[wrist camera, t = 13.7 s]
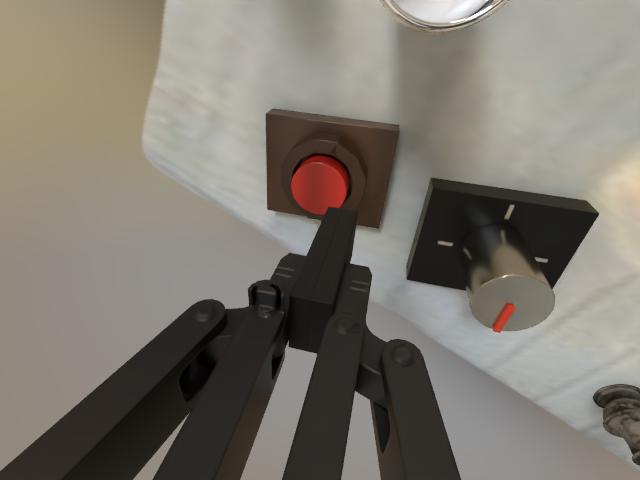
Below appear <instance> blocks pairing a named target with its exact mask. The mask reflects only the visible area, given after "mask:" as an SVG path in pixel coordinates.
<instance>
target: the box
mask: <svg viewBox="0 0 640 480" xmlns="http://www.w3.org/2000/svg"><path fill="white" fill-rule="evenodd" d="M398 133H399V125H394V124H386V123H379V122H371V121H363V120H356V119H348V118H340V117H332V116H325V115H317V114H309V113H302V112H294V111H286V110H279V109H272V110H270V111H269V112H268V113H266V153H267V209H268V210H273V211H278V212H284V213H290V214H296V215H302V216H306V217H308V218H311V219H317V220H323V217H324V215H325V214H315V213H312V212H309V211H307V210H305V209H304V208H302V207H301V206H300V205H299V204H298V203H297V201H296V200H295V198H294V196H293V193H292V187H291V184H292V179H293V176H294V174H295V173H296V171H297V170H298V168H299V167H300V165H301V164H302V163H303V162H304V161H305V160H307V159H308V158H311V157H313V156H328V157H331V158H333V159H335V160H337V161H338V162H339V163H340V164H341V165H342V166H343V167H344V168H345V170H346V172H347V174H348V177H349V189H348V192H347V195H346V198H345V201H344V202H343V204H342V205H341V206H340V207H339V208H342V209H348V210H354V211H358V216H357V223H356V225H360V226H366V227H372V228H378V229H379V226H380V221H381V216H382V211H383V206H384V201H385V197H386V192H387V187H388V182H389V177H390V172H391V167H392V162H393V157H394V153H395V148H396V143H397V138H398Z"/></svg>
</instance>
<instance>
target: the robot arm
mask: <svg viewBox="0 0 640 480" xmlns="http://www.w3.org/2000/svg"><path fill="white" fill-rule="evenodd" d="M357 216H358V211H354V210H348V209H342V208H336V207H329V206H328V208H327V210H326V213H325V215H324V217H323V220H322V222H321V224H320V226H319V229H318V231H317V233H316V236H315V238H314V240H313V242H312V245H311V247H310V249H309V252H308V254H307V256H303V255H298V254H292V253H289V254H288V255H286V256H284V257H283V258H282V259H281V260H280V262H279V264H278V266H277V268H276V269H275V271H274V274H273V275H272V277H271V279H270V280H262V281H258V282H256V283H254V284H252V285H251V286H250V287H249V288H248V296H249V306H248V307H245V308H239V309H225V307H224V305H223V304H222V303H221V302H219V301H217V300H213V299H208V300H202V301H199V302H197V303H195V304H194V305H192V306H191V307H190V308H189V309H187V310H186V311H185V312H184V313H183V314H182V315H180V316H179V317H178V318H177V319H176V320H175V321H174V322H172V323H171V324H170V325H169V326H168V327H167V328H166V329H164V330H163V331H162V332H161V333H160V334H158V335H157V336H156V337H155V338H154V339H153V340H152V341H150V342H149V343H148V344H147V345H146V346H145V347H144V348H142V349H141V350H140V351H139V352H138V353H136V355H134V356H133V357H132V358H131V359H130V360H128V361H127V362H126V363H125V364H124V365H123V366H121V367H120V368H119V369H118V370H117V371H116V372H115V373H113V374H112V375H111V376H110V377H109V378H108V379H106V380H105V381H104V382H103V383H102V384H101V385H99V386H98V387H97V388H96V389H95V390H94V391H93V392H91V393H90V394H89V395H88V396H87V397H86V398H84V399H83V400H82V401H81V402H80V403H79V404H78V405H76V406H75V407H74V408H73V409H72V410H71V411H70V412H68V413H67V414H66V415H65V416H64V417H63V418H61V419H60V420H59V421H58V422H57V423H56V424H54V425H53V426H52V427H51V428H50V429H49V430H47V431H46V432H45V433H44V434H43V435H42V436H41V437H39V438H38V439H37V440H36V441H35V442H34V443H32V444H31V445H30V446H29V447H28V448H27V449H26V450H24V451H23V452H22V453H21V454H20V455H19V456H17V457H16V458H15V459H14V460H13V461H12V462H11V463H9V464H8V465H7V466H6V467H5V468H4V469H2V470H1V471H0V480H133V479H134V478H135V476H136V475H137V474H138V473H139V472H140V470H141V469H142V468H143V467H144V466H145V464H146V463H147V462H148V461H149V460H150V459H151V457H152V456H153V455H154V454H155V453H156V452H157V450H158V449H159V448H160V447H161V446H162V444H163V443H164V442H165V441H166V440H167V438H168V437H169V436H170V435H171V434H172V433H173V431H174V430H175V429H176V428H177V427H178V425H179V424H180V423H181V422H182V421H183V420H184V418H185V417H186V416H187V415H188V414H189V415H188V417H187V419H186V420H185V422H184V424H183V426H182V428H181V429H180V431H179V433H178V435H177V437H176V438H175V440H174V442H173V444H172V446H171V448H170V449H169V451H168V453H167V455H166V456H165V458H164V460H163V462H162V464H161V465H160V467H159V469H158V471H157V473H156V474H155V476H154V478H153V480H240V478H241V476H242V473H243V470H244V468H245V465H246V462H247V459H248V457H249V454H250V451H251V448H252V446H253V443H254V440H255V438H256V435H257V432H258V430H259V427H260V424H261V421H262V418H263V416H264V413H265V410H266V408H267V405H268V402H269V400H270V397H271V394H272V392H273V389H274V386H275V383H276V380H277V378H278V375H279V372H280V370H281V367H282V364H283V361H284V357H285V348H286V345H287V343H288V340H289V347H291V348H296V349H300V350H304V351H308V352H313V353H317V358H316V361H315V365H314V368H313V372H312V375H311V379H310V383H309V386H308V390H307V393H306V397H305V400H304V404H303V407H302V411H301V414H300V418H299V421H298V425H297V428H296V432H295V436H294V440H293V443H292V446H291V450H290V453H289V457H288V460H287V464H286V467H285V471H284V474H283V478H282V480H341V476H342V469H343V463H344V456H345V450H346V444H347V437H348V431H349V425H350V418H351V412H352V405H353V399H354V393H355V391H356V392H358V393H360V394H361V395H363V396H364V397H366V398H368V399H370V404H371V411H372V419H373V425H374V433H375V440H376V447H377V454H378V461H379V468H380V476H381V480H461V478H460V475H459V472H458V468H457V465H456V462H455V458H454V455H453V452H452V449H451V446H450V442H449V439H448V436H447V433H446V430H445V426H444V423H443V420H442V416H441V414H440V410H439V407H438V404H437V400H436V397H435V394H434V391H433V388H432V384H431V381H430V378H429V375H428V371H427V368H426V365H425V362H424V358H423V356H422V354H421V352H420V350H419V349H418V348H417V347H416V346H415V345H414V344H412V343H410V342H408V341H406V340H401V339H395V340H390V341H389V342H385V341H383V340H381V339H379V338H378V337H376V336H375V335H373V334H372V333H371V332H370V330H369V329H368V327H367V325H366V313H367V306H368V300H369V293H370V287H371V280H372V274H371V272H370V269H369V267H366V266H360V265H355V264H350V261H351V257H352V250H353V243H354V237H355V230H356V223H357Z"/></svg>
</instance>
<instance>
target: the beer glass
mask: <svg viewBox="0 0 640 480" xmlns="http://www.w3.org/2000/svg"><path fill="white" fill-rule="evenodd" d="M508 1H509V0H380V2H381V4H382V5H383V7H384V8H385V10H386V11H387V12H388V14H389V15H390V16H391V17H392V18H393V19H394V20H395V21H397V22H398V23H399V24H401V25H402V26H404V27H406V28H408V29H410V30H413V31H416V32H420V33H425V34H443V33H449V32H453V31H456V30H459V29H463V28H466V27H469V26H471V25H474V24H476V23H478V22H480V21H482V20H484V19H485V18H487V17H489V16H490V15H492V14H493V13H495V12H496V11H497V10H499V9H500V8H501V7H502V6H503V5H505V4H506V3H507V2H508Z"/></svg>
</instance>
